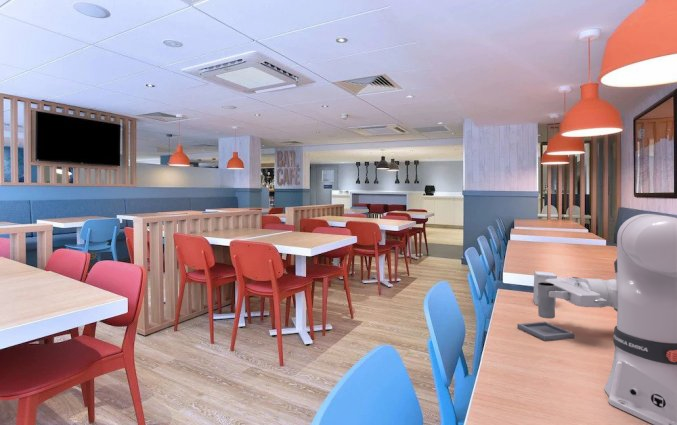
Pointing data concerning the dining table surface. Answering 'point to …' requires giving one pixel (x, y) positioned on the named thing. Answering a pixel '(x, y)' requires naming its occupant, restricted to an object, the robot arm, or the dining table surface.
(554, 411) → the dining table surface
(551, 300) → the grey cylindrical container
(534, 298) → the supplement box
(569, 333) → the tray
